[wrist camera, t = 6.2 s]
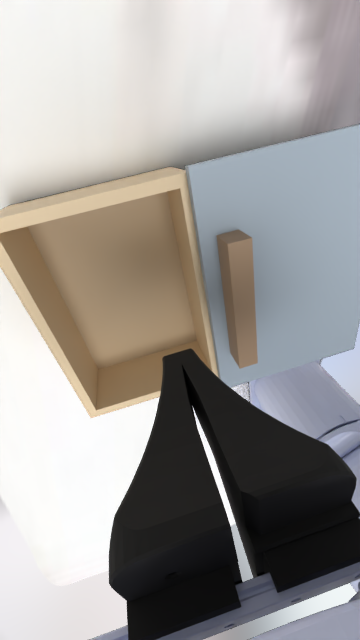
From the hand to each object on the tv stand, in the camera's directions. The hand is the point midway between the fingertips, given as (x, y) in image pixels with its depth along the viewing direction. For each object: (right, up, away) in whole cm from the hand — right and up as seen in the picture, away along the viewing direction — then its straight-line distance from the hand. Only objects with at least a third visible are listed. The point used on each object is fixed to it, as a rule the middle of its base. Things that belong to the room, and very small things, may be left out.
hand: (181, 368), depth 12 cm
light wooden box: (-4, +5, +8) cm, 10 cm away
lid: (+7, +5, +5) cm, 9 cm away
